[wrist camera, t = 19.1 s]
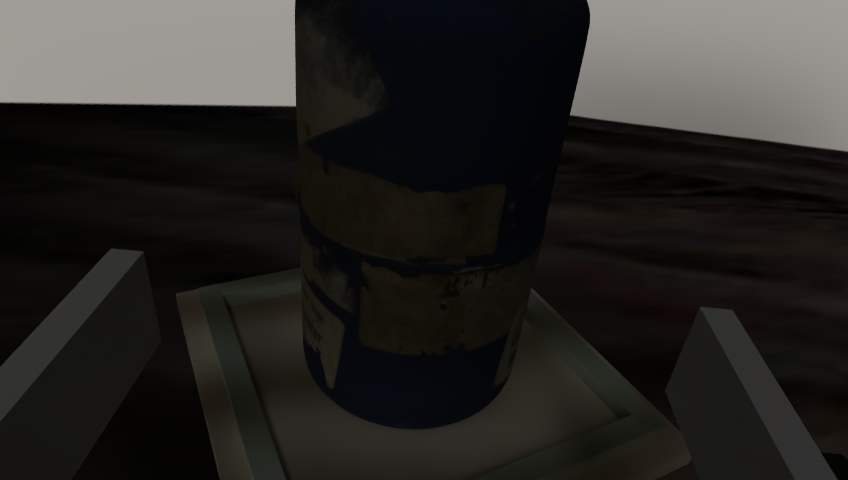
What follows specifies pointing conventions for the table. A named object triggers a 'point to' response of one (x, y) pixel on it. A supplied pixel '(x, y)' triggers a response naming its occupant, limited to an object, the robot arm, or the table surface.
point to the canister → (425, 192)
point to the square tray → (411, 448)
